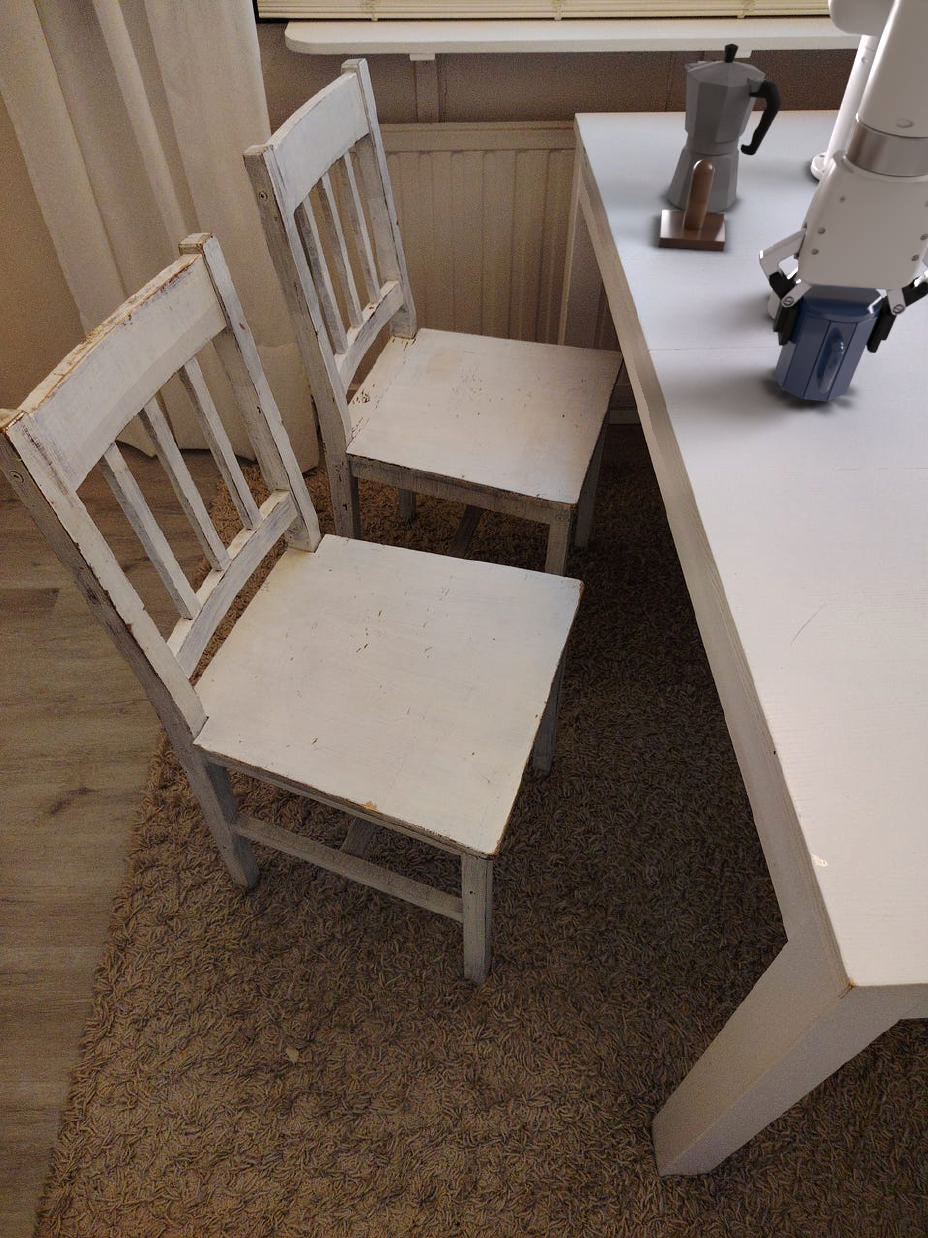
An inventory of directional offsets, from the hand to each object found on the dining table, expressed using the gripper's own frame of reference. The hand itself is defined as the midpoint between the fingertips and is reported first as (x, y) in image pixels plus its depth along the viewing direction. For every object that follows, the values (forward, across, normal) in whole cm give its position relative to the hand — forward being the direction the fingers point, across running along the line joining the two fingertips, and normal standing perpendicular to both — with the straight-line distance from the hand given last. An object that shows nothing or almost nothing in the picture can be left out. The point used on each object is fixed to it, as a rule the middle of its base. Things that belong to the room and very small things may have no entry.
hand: (825, 340), depth 77 cm
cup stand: (+6, +12, -32) cm, 35 cm away
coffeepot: (+6, +10, -42) cm, 44 cm away
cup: (+4, 0, 0) cm, 4 cm away
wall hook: (+6, -1, -14) cm, 16 cm away
